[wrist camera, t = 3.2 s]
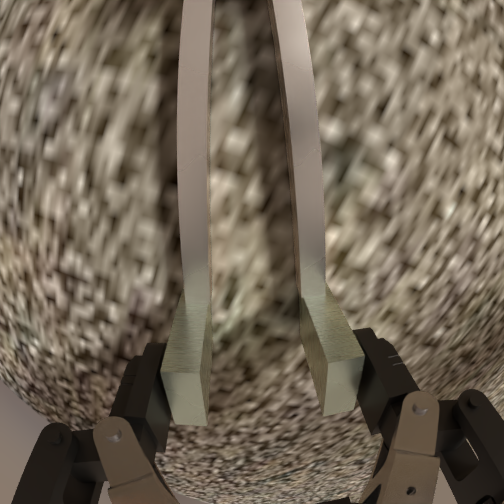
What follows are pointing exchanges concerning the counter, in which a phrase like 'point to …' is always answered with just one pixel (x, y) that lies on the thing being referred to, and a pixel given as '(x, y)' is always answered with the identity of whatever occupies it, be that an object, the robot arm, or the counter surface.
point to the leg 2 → (311, 218)
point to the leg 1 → (193, 223)
